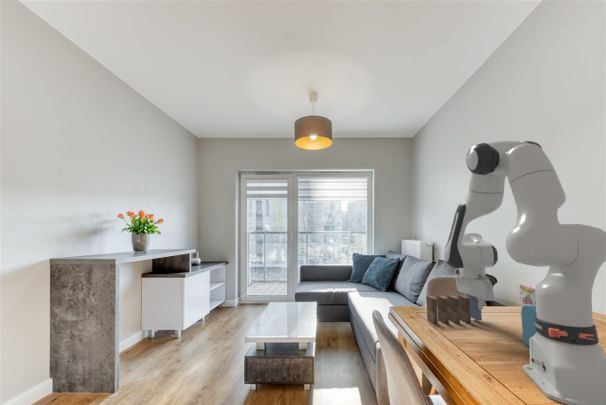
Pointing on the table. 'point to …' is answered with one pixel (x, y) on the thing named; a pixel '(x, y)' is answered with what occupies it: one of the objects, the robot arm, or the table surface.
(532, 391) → the table surface
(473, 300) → the domino
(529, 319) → the data package
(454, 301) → the domino
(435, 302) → the domino
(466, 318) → the domino
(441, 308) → the domino
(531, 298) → the candy bar box
